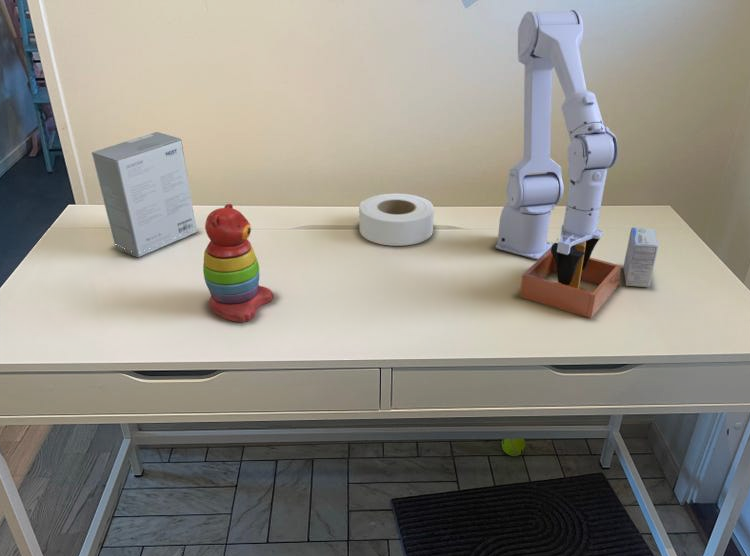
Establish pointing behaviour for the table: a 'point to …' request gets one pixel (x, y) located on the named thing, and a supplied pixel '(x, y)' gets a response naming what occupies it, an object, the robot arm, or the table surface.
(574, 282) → the supplement box
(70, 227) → the table surface
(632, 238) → the medicine box
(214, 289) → the stacking bear
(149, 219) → the hard drive box
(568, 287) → the terracotta planter box
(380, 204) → the tape roll
